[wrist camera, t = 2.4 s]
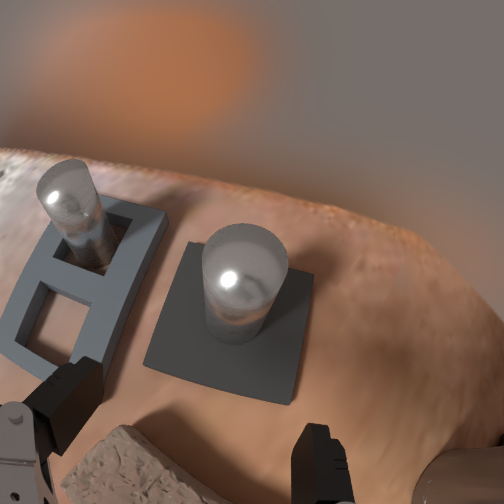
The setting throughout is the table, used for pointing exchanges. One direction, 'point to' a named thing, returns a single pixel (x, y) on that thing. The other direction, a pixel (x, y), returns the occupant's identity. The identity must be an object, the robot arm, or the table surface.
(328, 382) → the table surface
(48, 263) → the grey slotted holder
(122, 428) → the brick
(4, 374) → the table surface
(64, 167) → the cylinder
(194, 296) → the mat
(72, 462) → the table surface
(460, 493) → the robot arm
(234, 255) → the cylinder
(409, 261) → the table surface
